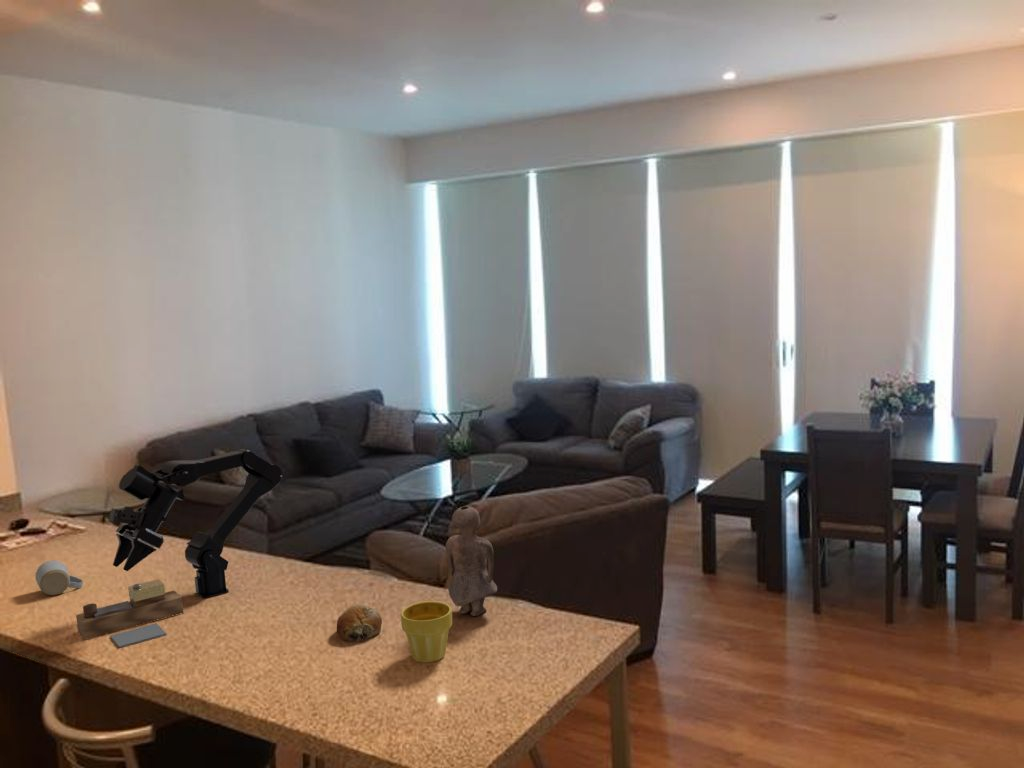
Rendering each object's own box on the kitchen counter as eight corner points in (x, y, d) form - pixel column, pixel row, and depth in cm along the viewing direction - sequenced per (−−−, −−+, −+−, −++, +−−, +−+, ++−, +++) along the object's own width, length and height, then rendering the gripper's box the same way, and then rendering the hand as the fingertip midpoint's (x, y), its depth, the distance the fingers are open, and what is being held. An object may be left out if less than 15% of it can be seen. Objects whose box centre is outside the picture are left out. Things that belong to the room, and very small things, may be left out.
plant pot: (434, 671, 169) (431, 623, 168) (393, 661, 175) (390, 615, 174) (464, 650, 178) (461, 605, 177) (424, 641, 183) (421, 597, 182)
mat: (156, 624, 200) (156, 623, 200) (166, 634, 194) (166, 633, 194) (110, 637, 194) (110, 635, 194) (119, 648, 188) (119, 646, 188)
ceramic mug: (40, 599, 221) (38, 570, 220) (36, 591, 228) (33, 563, 227) (86, 590, 227) (83, 562, 226) (80, 582, 234) (78, 554, 233)
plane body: (175, 605, 212) (173, 580, 211) (183, 613, 207) (180, 587, 206) (78, 631, 199) (74, 604, 198) (83, 639, 193) (80, 612, 193)
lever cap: (159, 589, 208) (158, 576, 208) (165, 594, 205) (163, 581, 204) (129, 596, 204) (127, 584, 204) (134, 601, 200) (132, 589, 200)
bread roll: (387, 644, 192) (392, 607, 194) (366, 643, 183) (371, 604, 185) (348, 640, 195) (353, 604, 197) (325, 638, 186) (331, 600, 188)
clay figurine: (507, 608, 199) (502, 504, 196) (485, 624, 191) (479, 515, 188) (461, 601, 206) (454, 499, 203) (437, 616, 197) (430, 510, 194)
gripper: (115, 491, 211) (78, 549, 205) (136, 494, 196) (98, 557, 191) (155, 512, 217) (121, 569, 211) (179, 516, 202) (142, 578, 196)
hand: (119, 568), depth 202 cm, fingers open, 9 cm apart
